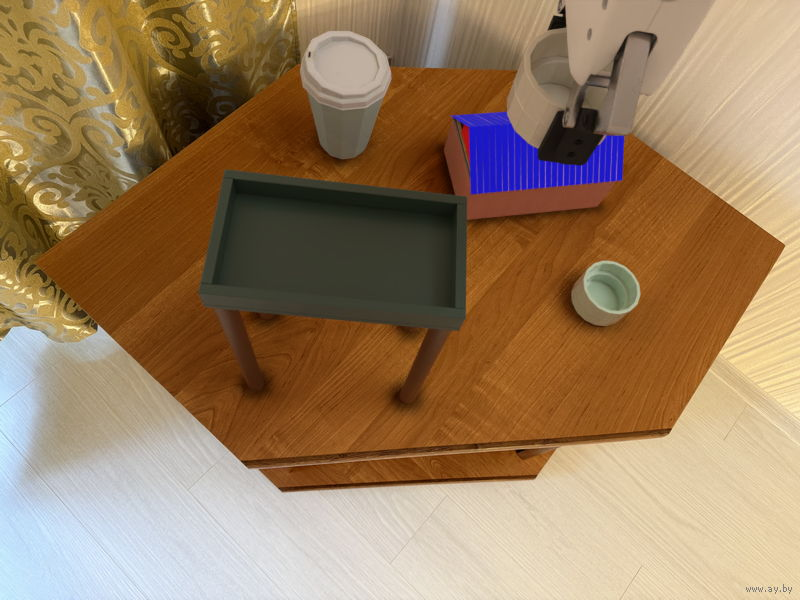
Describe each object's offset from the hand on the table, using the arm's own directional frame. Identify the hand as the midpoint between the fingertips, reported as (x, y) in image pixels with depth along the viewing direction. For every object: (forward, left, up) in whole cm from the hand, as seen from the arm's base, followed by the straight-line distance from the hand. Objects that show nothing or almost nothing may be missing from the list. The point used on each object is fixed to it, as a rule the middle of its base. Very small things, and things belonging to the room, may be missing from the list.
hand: (558, 110), depth 40 cm
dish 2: (+3, -18, -36) cm, 40 cm away
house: (+21, -9, -36) cm, 42 cm away
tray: (-7, +14, -36) cm, 39 cm away
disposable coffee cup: (+23, +16, -36) cm, 46 cm away
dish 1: (0, 0, -1) cm, 1 cm away
